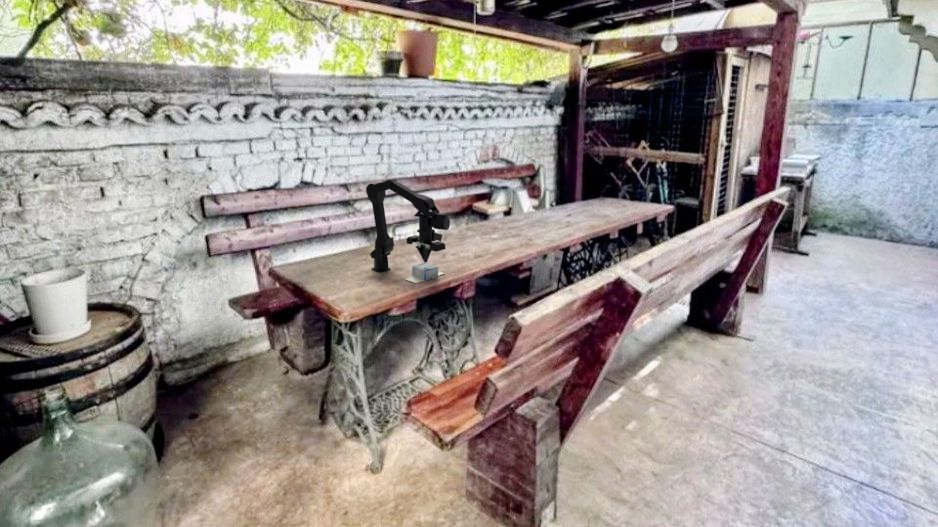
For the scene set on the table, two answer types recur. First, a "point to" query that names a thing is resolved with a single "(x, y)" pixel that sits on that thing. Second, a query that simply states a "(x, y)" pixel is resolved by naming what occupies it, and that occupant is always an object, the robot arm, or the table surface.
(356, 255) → the table surface
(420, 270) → the medicine box
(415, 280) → the white rectangular board
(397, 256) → the table surface
